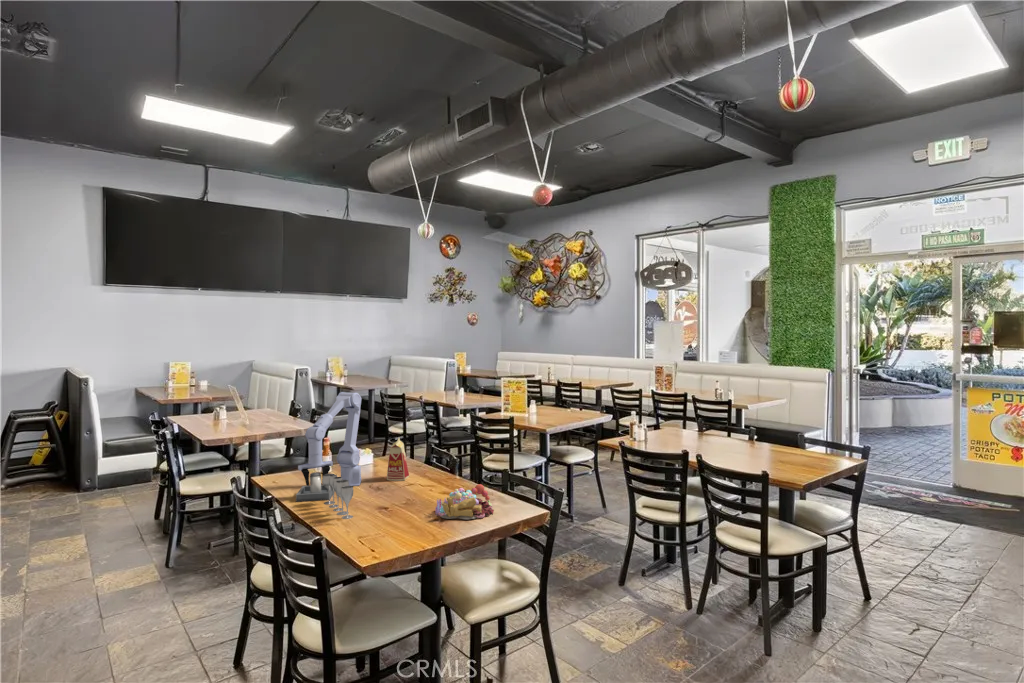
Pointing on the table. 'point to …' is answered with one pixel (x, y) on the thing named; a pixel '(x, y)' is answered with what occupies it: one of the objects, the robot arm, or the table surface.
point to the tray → (312, 494)
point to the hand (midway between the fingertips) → (315, 484)
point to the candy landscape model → (465, 504)
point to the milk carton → (397, 463)
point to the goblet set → (338, 492)
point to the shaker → (315, 482)
